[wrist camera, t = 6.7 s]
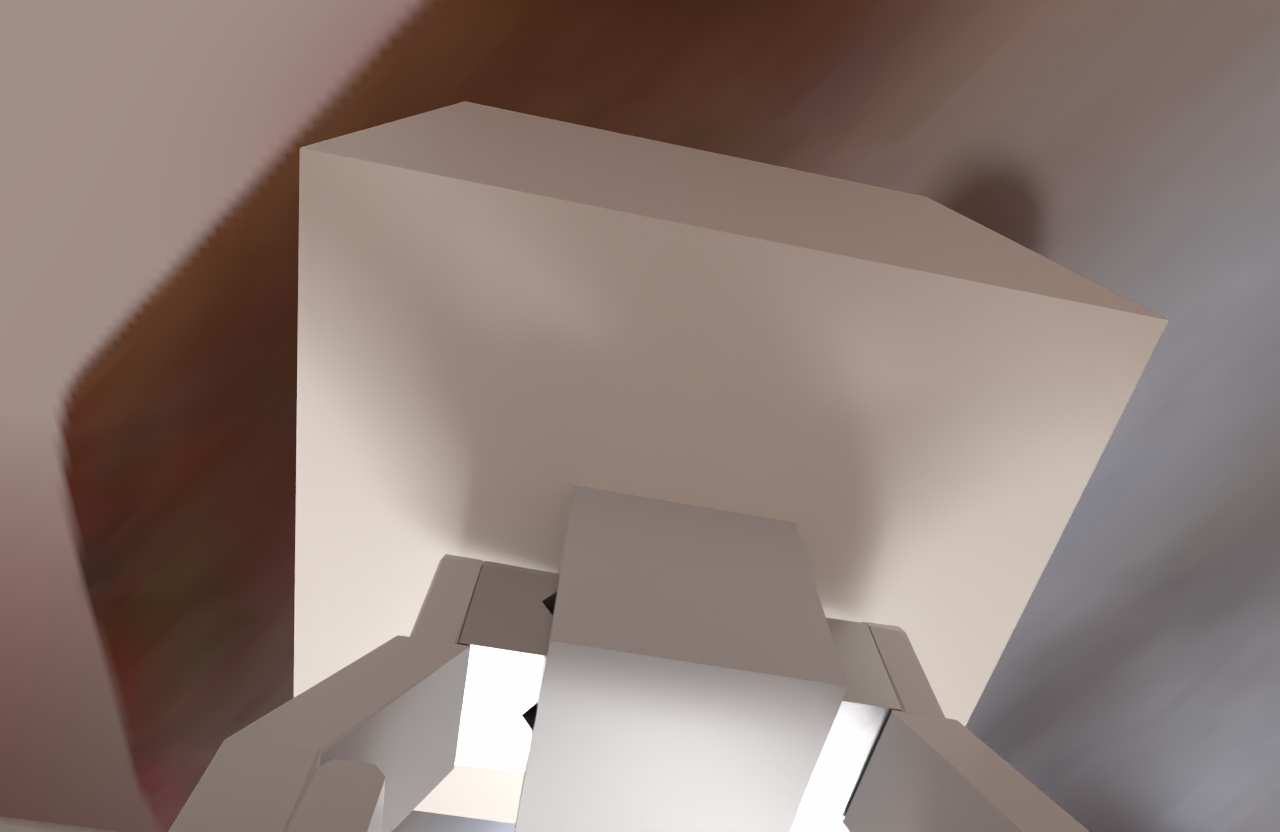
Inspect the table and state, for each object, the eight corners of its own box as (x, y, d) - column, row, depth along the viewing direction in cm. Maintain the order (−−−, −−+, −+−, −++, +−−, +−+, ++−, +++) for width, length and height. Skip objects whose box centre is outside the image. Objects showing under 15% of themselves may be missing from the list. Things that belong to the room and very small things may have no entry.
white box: (926, 196, 17) (1385, 430, 7) (799, 569, 22) (954, 1080, 11) (464, 101, 16) (139, 192, 6) (427, 508, 21) (198, 994, 10)
